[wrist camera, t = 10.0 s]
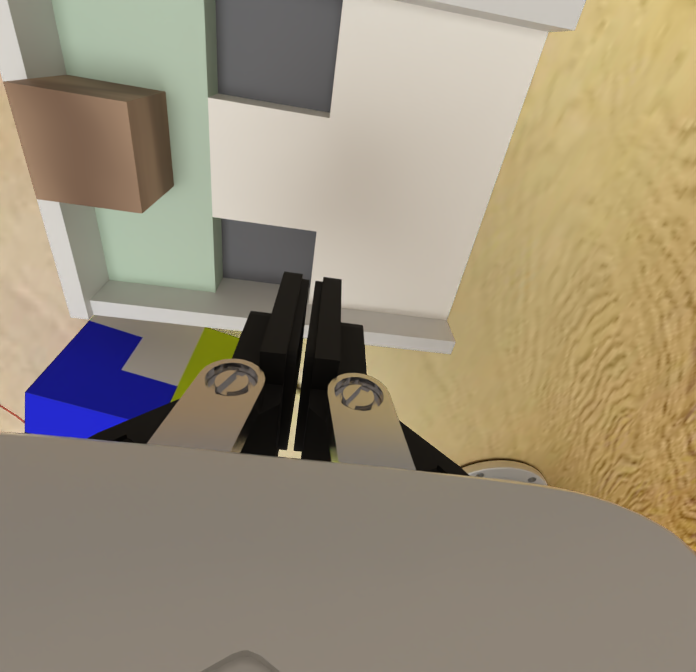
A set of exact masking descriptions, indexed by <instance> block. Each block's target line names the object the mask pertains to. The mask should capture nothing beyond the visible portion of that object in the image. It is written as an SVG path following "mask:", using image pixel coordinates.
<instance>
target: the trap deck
mask: <svg viewBox="0 0 696 672" xmlns="http://www.w3.org/2000/svg"><path fill="white" fill-rule="evenodd" d="M585 2H586V0H0V72H1V76H2V79H3V82H4V81H13V80H22V79H31V78H41V77H50V76H59V75H71V76H77V77H83V78H89V79H95V80H101V81H107V82H112V83H118V84H124V85H130V86H136V87H142V88H148V89H154V90H159V91H165V92H166V102H167V113H168V124H169V135H170V146H171V157H172V169H173V180H174V187H172V188H171V189H170V190H169V191H168V192H167V193H165V194H164V195H163V196H162V197H161V198H160V199H159V200H157V201H156V202H155V203H154V204H153V205H152V206H150V207H149V208H148V209H147V210H146V211H145V212H144V213H142V214H141V213H133V212H126V211H119V210H112V209H104V208H97V207H90V206H83V205H75V204H68V203H61V202H54V201H46V200H39V199H37V201H38V205H39V208H40V212H41V215H42V219H43V222H44V226H45V229H46V233H47V236H48V240H49V243H50V247H51V250H52V254H53V257H54V261H55V264H56V268H57V271H58V275H59V278H60V282H61V285H62V289H63V292H64V296H65V299H66V303H67V306H68V310H69V313H70V317H71V318H80V319H90V318H91V317H92V316H93V315H100V316H109V317H118V318H127V319H136V320H145V321H154V322H163V323H172V324H181V325H190V326H199V327H208V328H217V329H227V330H236V331H243V328H244V326H245V323H246V321H247V318H248V316H249V313H250V311H258V312H266V313H272V310H273V307H274V303H275V300H276V297H277V293H278V290H279V287H280V283H281V280H282V277H283V273H284V271H285V272H293V273H300V274H303V279H307V280H310V281H309V291H308V300H307V308H306V317H305V326H304V335H303V338H307V337H308V330H309V323H310V316H311V309H312V302H313V295H314V288H315V281H322V282H323V277H329V278H336V279H342V291H341V322H343V323H351V324H359V325H363V329H364V344H365V345H372V346H381V347H390V348H399V349H408V350H417V351H426V352H435V353H444V354H451V353H452V350H453V347H454V345H455V339H454V337H453V334H452V332H451V329H450V327H449V324H448V322H447V319H448V316H449V313H450V310H451V307H452V304H453V302H454V299H455V296H456V293H457V290H458V287H459V285H460V282H461V279H462V276H463V273H464V270H465V268H466V265H467V262H468V259H469V256H470V253H471V251H472V248H473V245H474V242H475V239H476V236H477V234H478V231H479V228H480V225H481V222H482V219H483V217H484V214H485V211H486V208H487V205H488V202H489V200H490V197H491V194H492V191H493V188H494V185H495V183H496V180H497V177H498V174H499V171H500V168H501V166H502V163H503V160H504V157H505V154H506V151H507V149H508V146H509V143H510V140H511V137H512V134H513V132H514V129H515V126H516V123H517V120H518V117H519V115H520V112H521V109H522V106H523V103H524V100H525V98H526V95H527V92H528V89H529V86H530V83H531V81H532V78H533V75H534V72H535V69H536V66H537V64H538V61H539V58H540V55H541V52H542V49H543V47H544V44H545V41H546V38H547V35H548V32H558V31H573V30H575V28H576V25H577V23H578V20H579V18H580V15H581V12H582V10H583V7H584V5H585Z"/></svg>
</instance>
